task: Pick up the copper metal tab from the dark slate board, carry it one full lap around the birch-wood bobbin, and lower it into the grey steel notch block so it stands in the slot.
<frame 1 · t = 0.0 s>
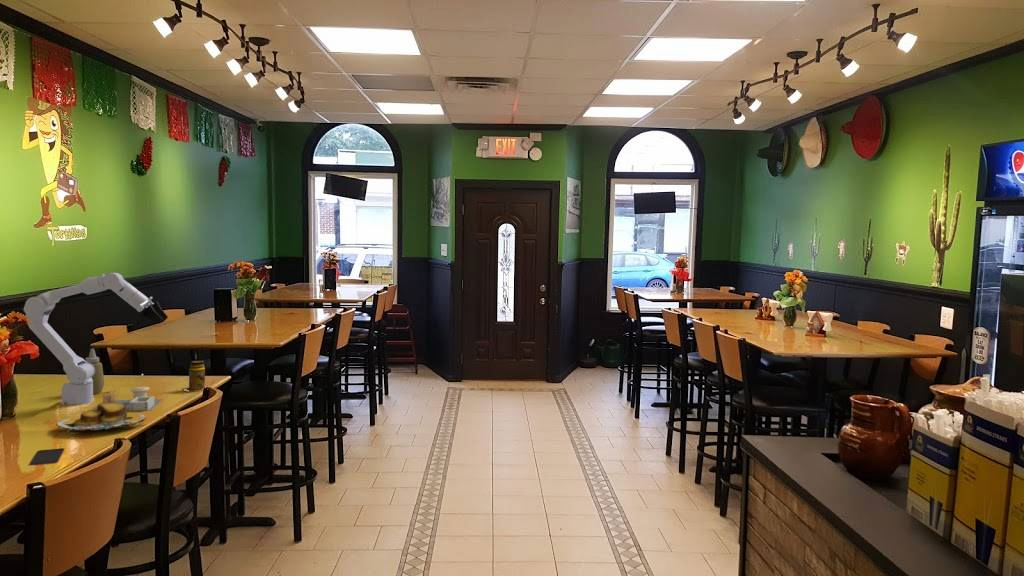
hand: (163, 320, 249), 32 cm above the table, tool tilted 50°, fingers open, 7 cm apart
condiment: (194, 390, 276), on the table
copper tab: (108, 408, 238), point 1 cm above the table, touching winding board
squeeze bottle: (92, 393, 264), on the table
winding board: (127, 409, 242), on the table
food on plate: (102, 427, 221), on the table
smartphone: (47, 458, 190), on the table
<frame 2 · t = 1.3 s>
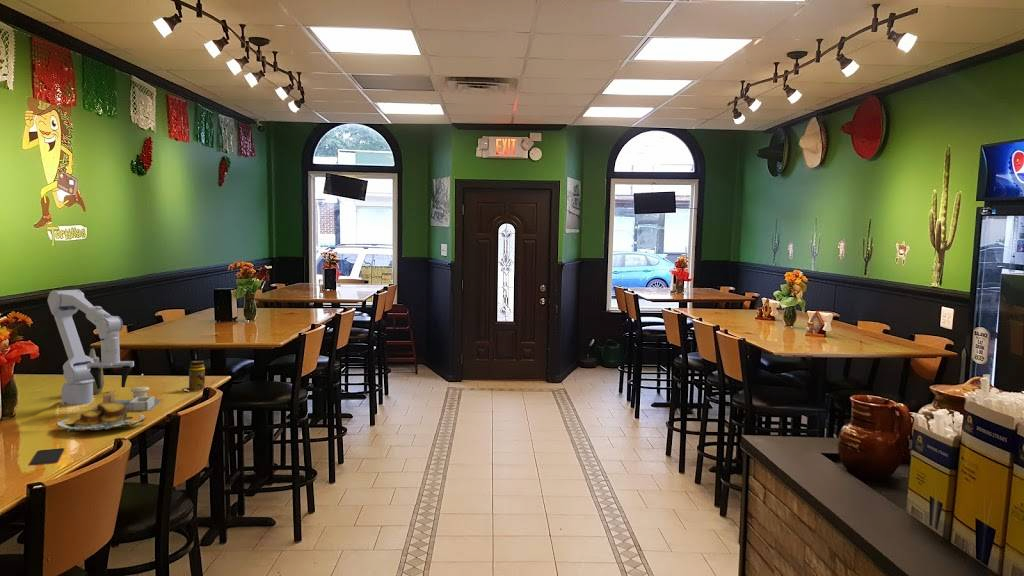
hand: (111, 387, 237), 9 cm above the table, tool pointing down, fingers open, 7 cm apart
nothing on the table moved.
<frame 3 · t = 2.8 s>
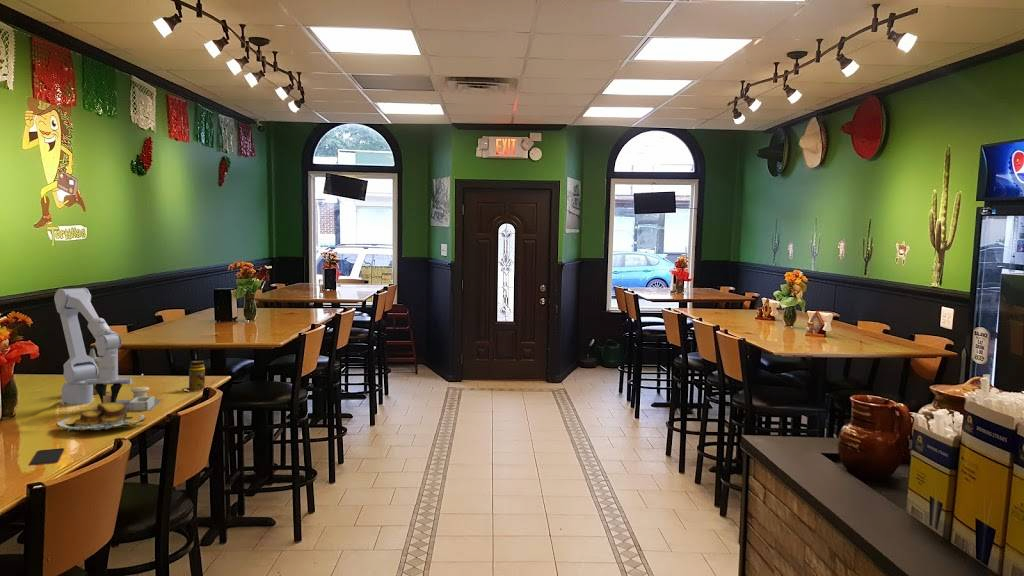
hand: (108, 404, 238), 3 cm above the table, tool pointing down, fingers closed on copper tab, 2 cm apart
copper tab: (108, 408, 238), point 1 cm above the table, touching gripper, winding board
everything else where it was.
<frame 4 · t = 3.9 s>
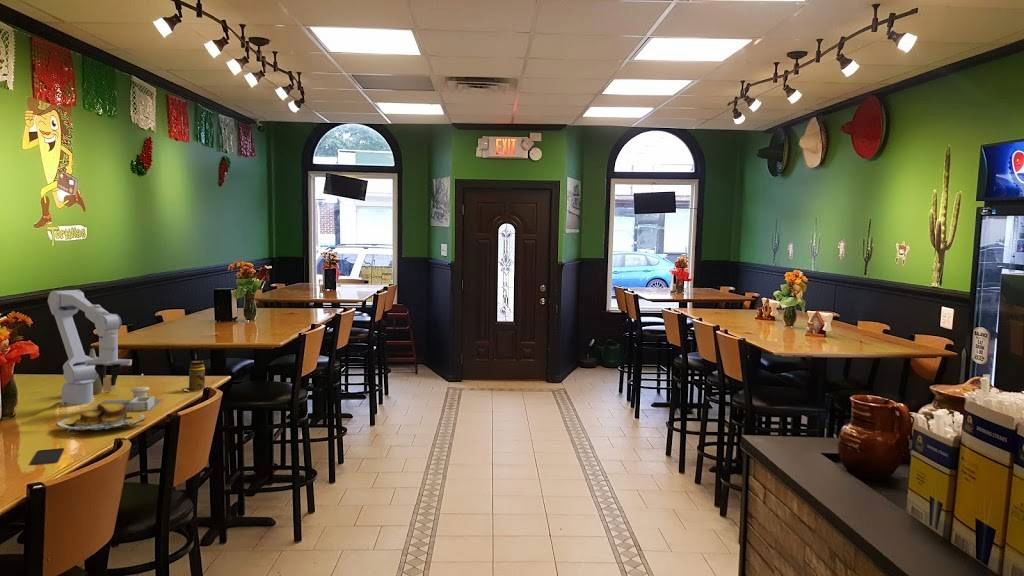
hand: (108, 385, 237), 10 cm above the table, tool pointing down, fingers closed on copper tab, 2 cm apart
copper tab: (109, 390, 238), point 8 cm above the table, touching gripper
everything else where it was.
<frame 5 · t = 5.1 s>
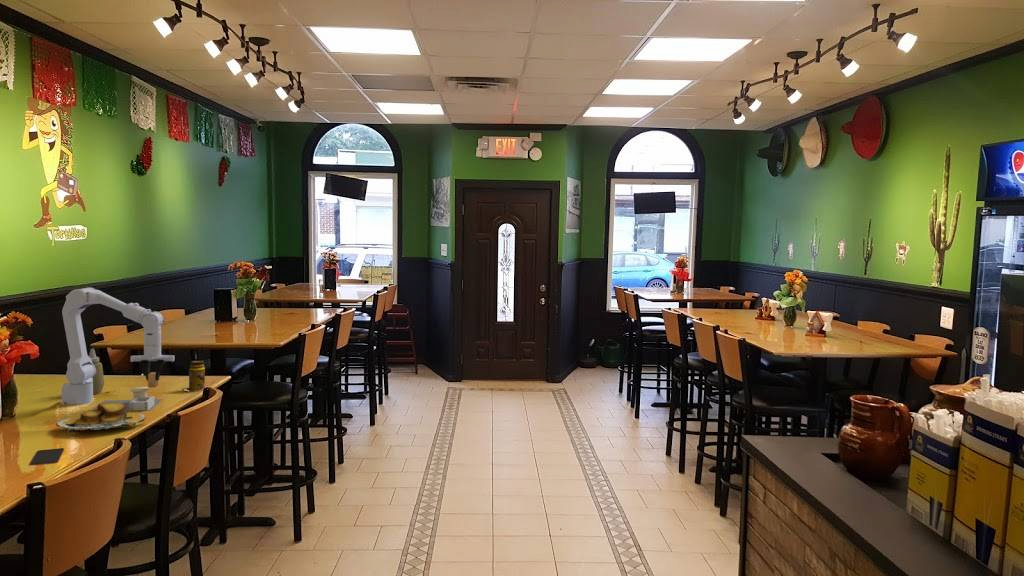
hand: (152, 380, 247), 10 cm above the table, tool pointing down, fingers closed on copper tab, 2 cm apart
copper tab: (153, 386, 248), point 7 cm above the table, touching gripper
everything else where it was.
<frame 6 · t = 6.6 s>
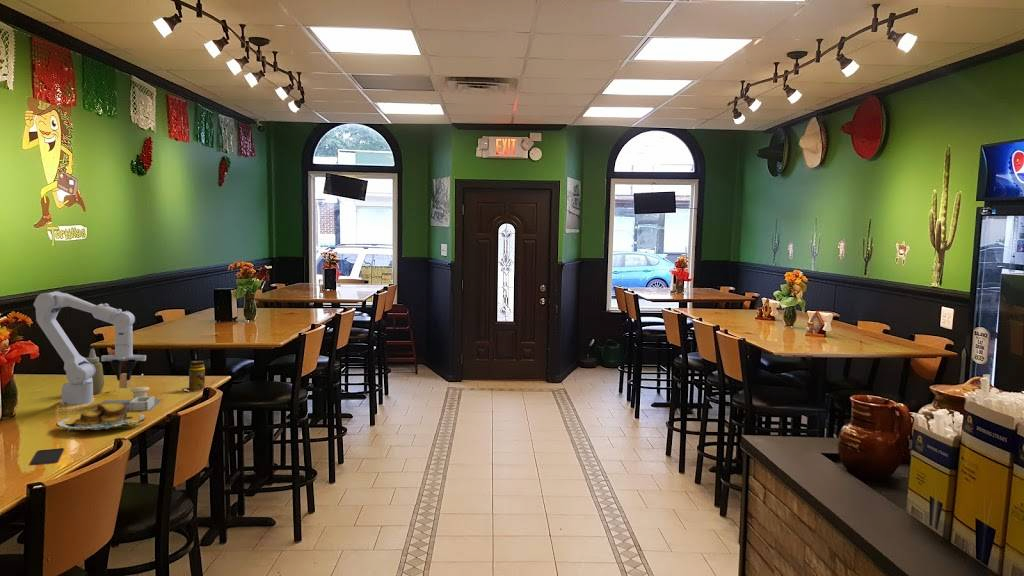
hand: (123, 379, 246), 10 cm above the table, tool pointing down, fingers closed on copper tab, 2 cm apart
copper tab: (124, 387, 247), point 7 cm above the table, touching gripper
everything else where it was.
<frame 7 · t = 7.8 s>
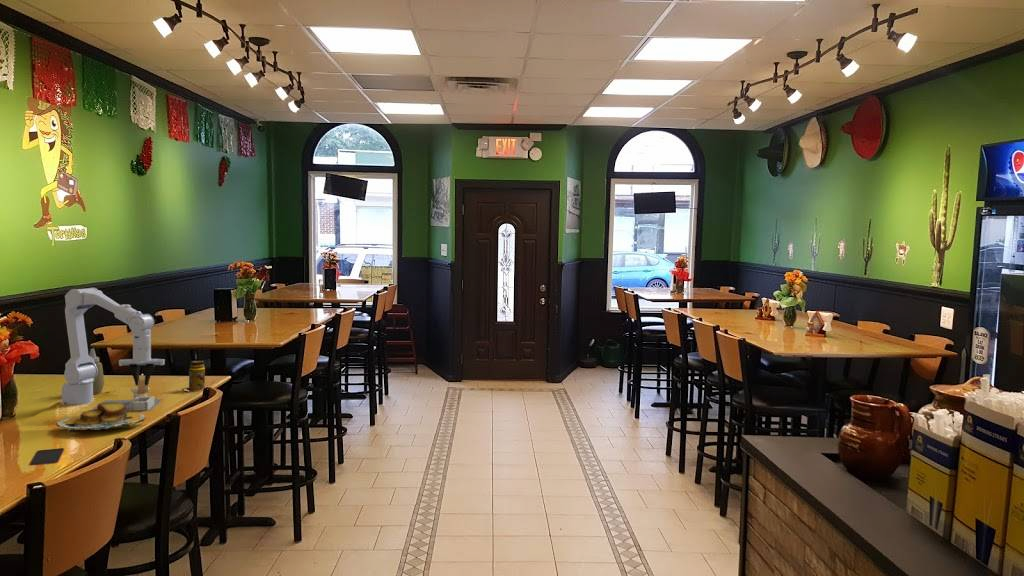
hand: (142, 384, 240), 10 cm above the table, tool pointing down, fingers closed on copper tab, 2 cm apart
copper tab: (142, 392, 241), point 7 cm above the table, touching gripper
everything else where it was.
when the fingers open (5 cm above the table, at t = 9.4 s): copper tab stays where it is, resting on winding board.
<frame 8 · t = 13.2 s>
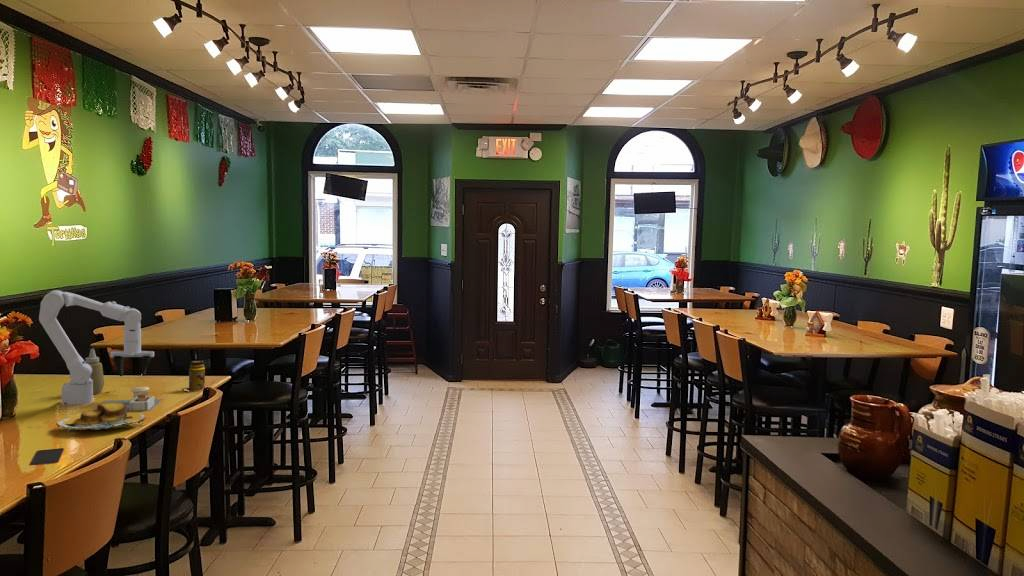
hand: (132, 375, 252), 10 cm above the table, tool pointing down, fingers open, 7 cm apart
copper tab: (143, 406, 241), point 1 cm above the table, touching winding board
everything else where it was.
at the end: copper tab 0.9 cm from the target spot, point 1.5 cm above the table; copper tab tilted 0°; the gripper is holding nothing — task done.
